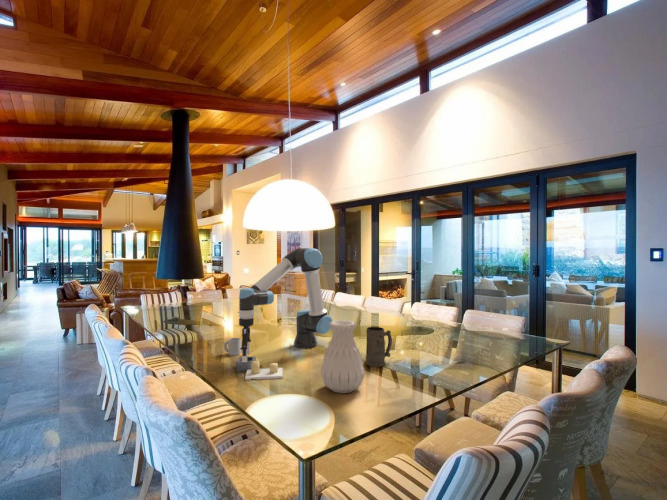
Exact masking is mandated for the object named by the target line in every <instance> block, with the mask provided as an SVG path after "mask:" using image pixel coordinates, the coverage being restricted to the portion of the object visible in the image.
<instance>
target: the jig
mask: <svg viewBox="0 0 667 500" xmlns="http://www.w3.org/2000/svg"><path fill="white" fill-rule="evenodd" d="M260 364H261V363H260V361H259V360H256V361H252V362H251V369H247V371H246V373H245V377H244V380H245V381H252V380H251V379H257V380H273V379H275V380H276V379H277V380H278V379H283V377H284V374H283V373H284V367H278V366H279V365H278V363H277V362H270V363H269V367H268V368H260V366H261V365H260Z"/></svg>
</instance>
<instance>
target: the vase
mask: <svg viewBox="0 0 667 500" xmlns="http://www.w3.org/2000/svg"><path fill="white" fill-rule="evenodd" d="M329 326H330V330H331V331H332V336H331V338H330V339H331V340H330V343H329V344H328V346H327V348H326V351H325V353H324V355H323V362H322V365H321V370H320V373H321V378H322V381H323V384H324V385H325V386H326V388H328V389H329V390H330V391H332V392H335V393H338V394H347V393H352V392H353V391H355V390H357V389H358V388H360V386H361V385H362V384H363V380H364V378H365V374H366V371H365V368H364V361H363V358H362V354H361V352H360V349H359V347H358V345H357V343H356V341H355V337H354V331H355V330H356V328H357V322H356V321H352V320H343V319H342V320H339V319H337V320H332V322H330V323H329Z"/></svg>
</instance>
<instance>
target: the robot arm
mask: <svg viewBox="0 0 667 500" xmlns="http://www.w3.org/2000/svg"><path fill="white" fill-rule="evenodd" d="M322 264H323V254H322V253H321V251H320V250H319V249H317V248H313V247H304V248H302V247H300V248H295V249H293V250H292V251H290V252H289V253H287V254H286V255H284V257H282V258H281V261H280V262H279V263H278V264H277V265H276V266H274V267H273V268H272V269H271V270H270V271H268V272H266V274H264V275H263V276H262V277H261V278H260V279H259V280H258V281H256V282H255V283H254V284H253V285H251V286H250V287H249V288H244V287H243V288H241V289H240V290H239V295H238V299H239V302H238V303H239V304H238V305H239V306H238V307H239V310H238V311H237V313H238V316H239V319H238V325H239V326H240V327H243V328H242V330H241V348H240V349H241V357H242V362H247V357H248V355H250V353H251V351H250V350H251V349H250V348H251V347H250V346H251V342H252V339H251V327H252V326H254V320H255V319H254V316H255V315H254V314H255V309H254V308H255V307H256V306H264V305H266V306H267V305H271V304H273V303H274V300H275V295H274V292H272V291H271V290H269V289H270V288H271V287H272V286H273V285H275V284H276V283H277V282H278V281H280V279H281V278H282V277H284V276H285V275H286V274H287V273H289V272H292V271H293V270H294V269H296V268H300V270H301V273H303V274H304V280H305V283H306V284H305V285H306V290H307V292H306V293H307V297H308V304H309V309H305V310H298V311H297V312H296V317H295V318H296V335H295V338H294V340H293V347H295V348H297V349H312V348H315V347H318V341H317V337H316V335H315V333H316V334H319V335H326V334H327V333H329V332H330V330H331V328H330V326H329V323H330V322H333V319H332V317H331V316H330V315H328V311H327V309H326V308H325V306H324V300H323V295H322V294H323V293H322V287H321V281H320V280H321V279H320V275H319V271H320V269H321V266H322Z"/></svg>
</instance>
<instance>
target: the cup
mask: <svg viewBox="0 0 667 500" xmlns="http://www.w3.org/2000/svg"><path fill="white" fill-rule="evenodd" d="M241 347H242V338H240V337H230V338H228V340H227V341H225V342H224V344H223V349H224V352H226V353H228V354H227V355H228V356H232V357H235V356H239V355H240V354H242V350H241V349H240V348H241Z"/></svg>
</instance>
